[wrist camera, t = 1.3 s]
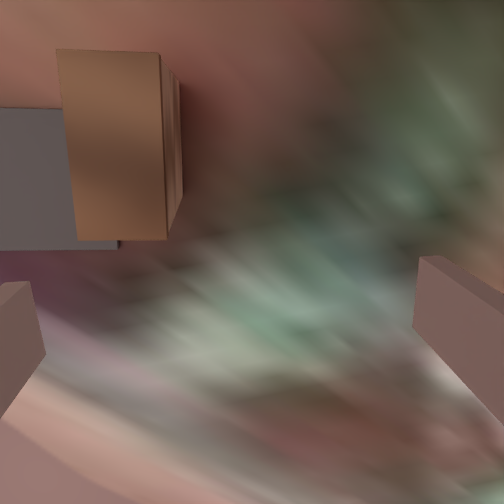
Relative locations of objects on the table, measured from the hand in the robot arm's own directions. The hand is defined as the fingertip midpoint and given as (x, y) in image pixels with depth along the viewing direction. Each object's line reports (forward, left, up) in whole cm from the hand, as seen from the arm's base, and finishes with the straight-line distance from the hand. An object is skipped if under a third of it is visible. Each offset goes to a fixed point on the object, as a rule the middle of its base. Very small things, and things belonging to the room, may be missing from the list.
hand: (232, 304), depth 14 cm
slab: (-5, -5, -18) cm, 19 cm away
